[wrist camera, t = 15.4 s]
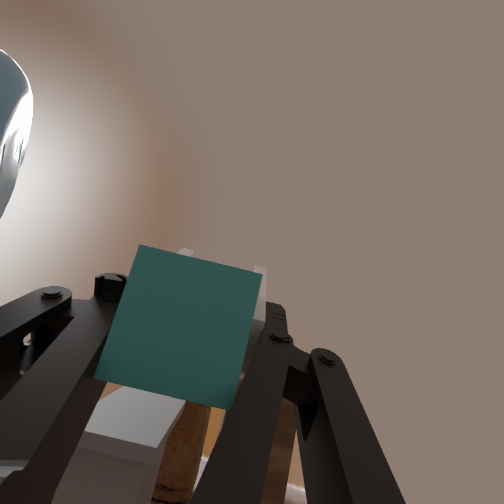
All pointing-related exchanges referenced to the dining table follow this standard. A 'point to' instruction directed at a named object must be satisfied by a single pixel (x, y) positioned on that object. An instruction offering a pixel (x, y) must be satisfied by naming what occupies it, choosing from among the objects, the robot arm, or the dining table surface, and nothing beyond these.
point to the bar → (181, 328)
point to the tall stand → (276, 452)
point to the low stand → (120, 449)
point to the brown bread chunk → (182, 454)
